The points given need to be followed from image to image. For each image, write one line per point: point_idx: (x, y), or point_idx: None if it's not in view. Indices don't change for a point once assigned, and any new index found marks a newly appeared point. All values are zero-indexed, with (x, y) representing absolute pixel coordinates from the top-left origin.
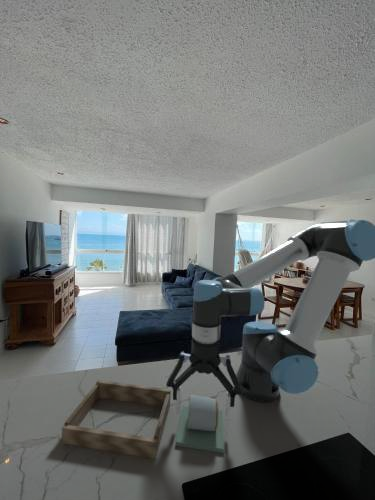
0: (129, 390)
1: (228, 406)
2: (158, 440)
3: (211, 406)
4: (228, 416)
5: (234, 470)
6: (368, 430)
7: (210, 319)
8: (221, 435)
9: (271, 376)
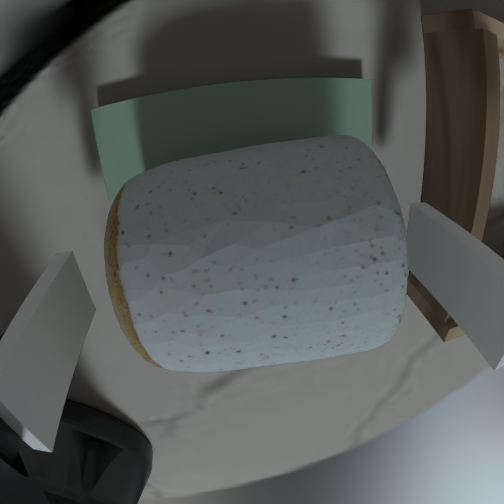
0: None
1: (20, 320)
2: (458, 46)
3: (167, 288)
4: (51, 270)
5: (48, 50)
6: None
7: None
8: (117, 189)
9: None
